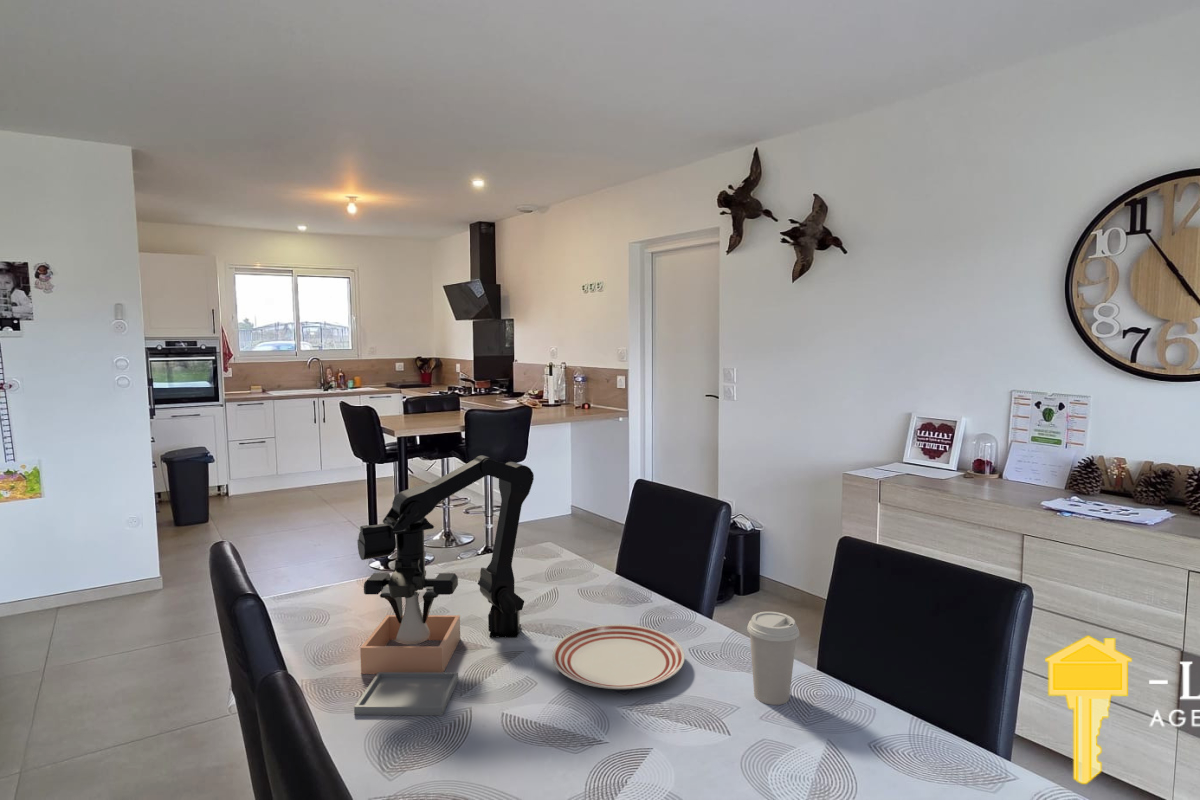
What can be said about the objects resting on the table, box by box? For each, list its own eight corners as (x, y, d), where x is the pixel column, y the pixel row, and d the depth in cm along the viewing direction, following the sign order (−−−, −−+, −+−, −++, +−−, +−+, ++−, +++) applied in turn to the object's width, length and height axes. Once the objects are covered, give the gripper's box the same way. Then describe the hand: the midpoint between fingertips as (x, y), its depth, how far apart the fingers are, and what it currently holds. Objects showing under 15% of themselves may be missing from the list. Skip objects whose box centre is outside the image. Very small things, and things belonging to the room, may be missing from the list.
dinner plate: (689, 703, 129) (689, 686, 128) (544, 699, 130) (544, 682, 130) (680, 639, 156) (680, 625, 156) (560, 636, 157) (560, 622, 157)
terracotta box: (460, 638, 156) (459, 615, 155) (442, 674, 139) (442, 648, 139) (387, 638, 156) (386, 615, 156) (361, 673, 140) (360, 647, 139)
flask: (420, 647, 143) (419, 600, 142) (389, 644, 145) (387, 598, 144) (436, 632, 150) (435, 588, 149) (405, 630, 152) (404, 586, 151)
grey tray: (458, 679, 137) (458, 672, 137) (442, 715, 124) (442, 707, 124) (378, 679, 137) (378, 672, 137) (354, 714, 124) (354, 706, 124)
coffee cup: (769, 714, 124) (770, 634, 123) (735, 690, 133) (736, 615, 131) (808, 701, 129) (810, 624, 127) (773, 679, 137) (775, 606, 136)
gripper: (352, 563, 138) (355, 638, 139) (445, 563, 137) (447, 639, 139) (371, 546, 149) (374, 616, 150) (457, 547, 149) (459, 616, 150)
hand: (412, 622), depth 147 cm, fingers closed on flask, 5 cm apart
